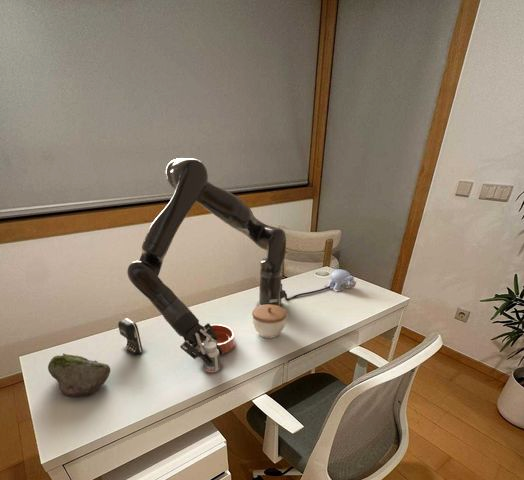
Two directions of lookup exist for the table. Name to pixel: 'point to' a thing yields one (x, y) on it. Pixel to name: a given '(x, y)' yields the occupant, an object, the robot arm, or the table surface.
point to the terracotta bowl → (223, 337)
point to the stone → (78, 374)
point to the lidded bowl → (269, 320)
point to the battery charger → (131, 335)
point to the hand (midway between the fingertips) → (216, 358)
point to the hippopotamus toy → (341, 279)
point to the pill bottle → (212, 356)
